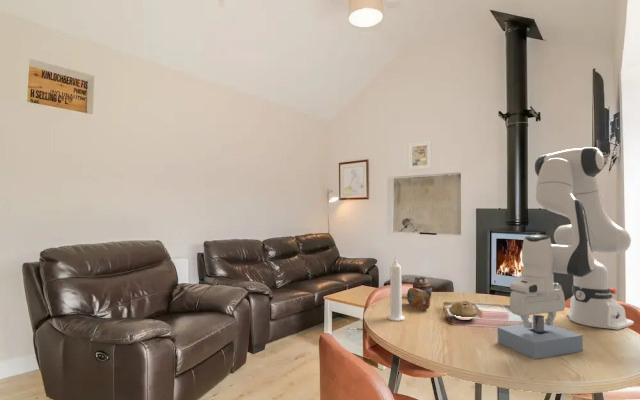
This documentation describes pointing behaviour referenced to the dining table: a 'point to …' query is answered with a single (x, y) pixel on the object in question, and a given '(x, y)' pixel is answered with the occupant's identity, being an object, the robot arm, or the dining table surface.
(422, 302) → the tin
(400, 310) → the candle
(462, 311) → the oil lamp
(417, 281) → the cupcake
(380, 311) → the dining table surface
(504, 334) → the hole block
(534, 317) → the peg
